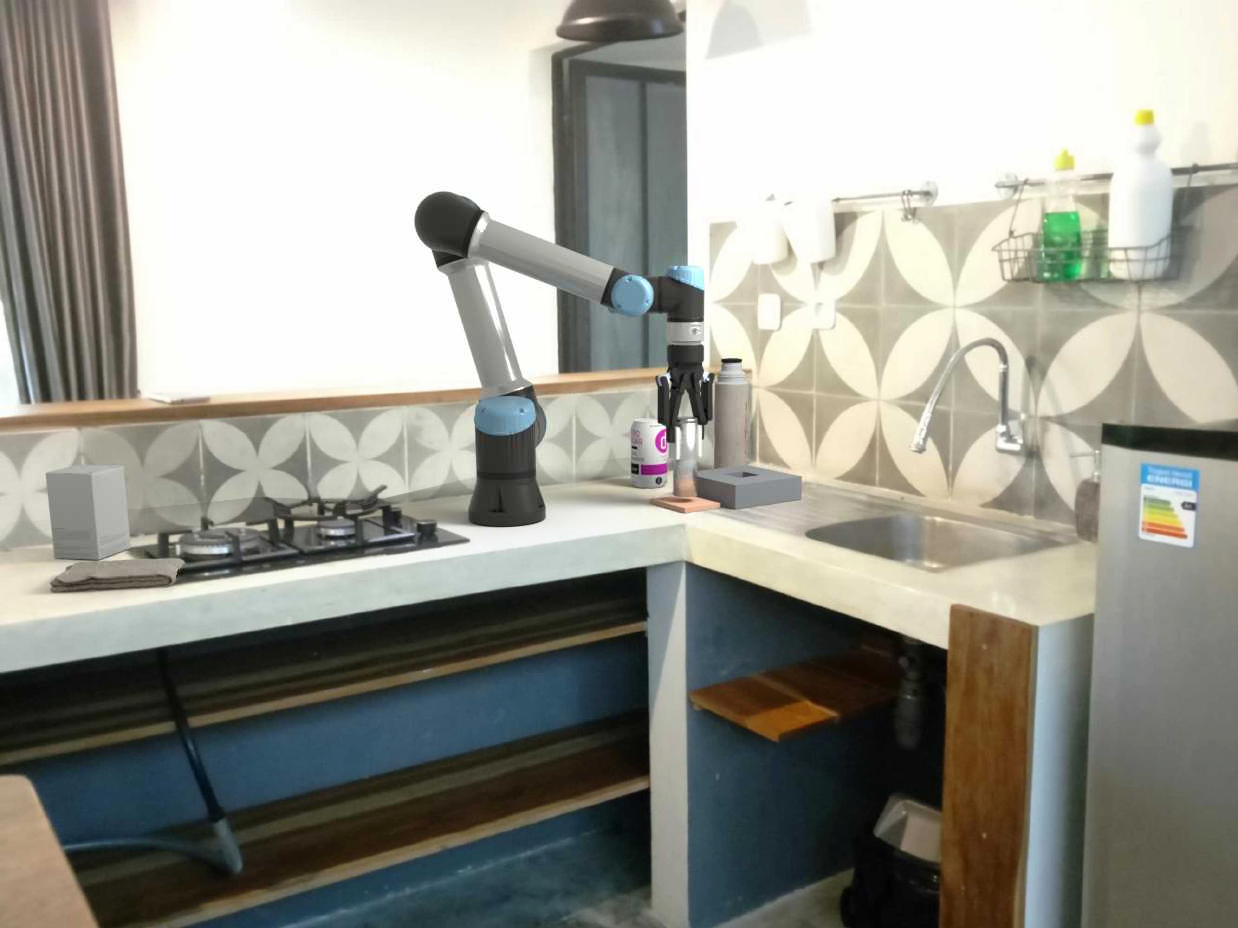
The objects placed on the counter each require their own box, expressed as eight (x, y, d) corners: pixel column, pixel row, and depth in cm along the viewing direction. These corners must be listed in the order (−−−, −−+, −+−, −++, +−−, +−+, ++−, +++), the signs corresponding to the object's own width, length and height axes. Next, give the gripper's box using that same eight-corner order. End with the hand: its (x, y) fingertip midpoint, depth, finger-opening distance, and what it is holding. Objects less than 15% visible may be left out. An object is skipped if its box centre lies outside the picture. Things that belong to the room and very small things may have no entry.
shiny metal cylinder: (682, 498, 221) (682, 420, 219) (668, 494, 226) (668, 417, 223) (702, 495, 224) (702, 418, 222) (687, 491, 228) (687, 415, 226)
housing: (735, 509, 221) (735, 485, 220) (682, 495, 236) (682, 472, 235) (801, 499, 231) (801, 476, 230) (746, 486, 246) (746, 464, 245)
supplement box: (133, 548, 192) (126, 464, 189) (99, 561, 183) (91, 473, 181) (87, 546, 194) (80, 463, 191) (52, 558, 185) (43, 471, 182)
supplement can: (673, 484, 249) (673, 419, 247) (655, 490, 242) (655, 423, 240) (643, 481, 254) (642, 417, 251) (624, 486, 247) (624, 421, 244)
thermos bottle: (750, 473, 262) (751, 357, 258) (744, 479, 255) (745, 359, 250) (717, 472, 265) (718, 357, 260) (710, 478, 257) (711, 359, 252)
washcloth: (69, 577, 175) (68, 558, 174) (188, 570, 178) (186, 552, 178) (47, 597, 163) (45, 577, 163) (174, 590, 167) (173, 570, 167)
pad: (684, 513, 218) (684, 508, 218) (650, 503, 228) (650, 498, 228) (720, 507, 223) (720, 503, 223) (685, 498, 233) (685, 494, 232)
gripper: (659, 345, 212) (660, 463, 216) (732, 342, 222) (731, 455, 225) (638, 344, 218) (638, 459, 222) (709, 341, 228) (708, 451, 232)
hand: (685, 457), depth 224 cm, fingers closed on shiny metal cylinder, 5 cm apart
